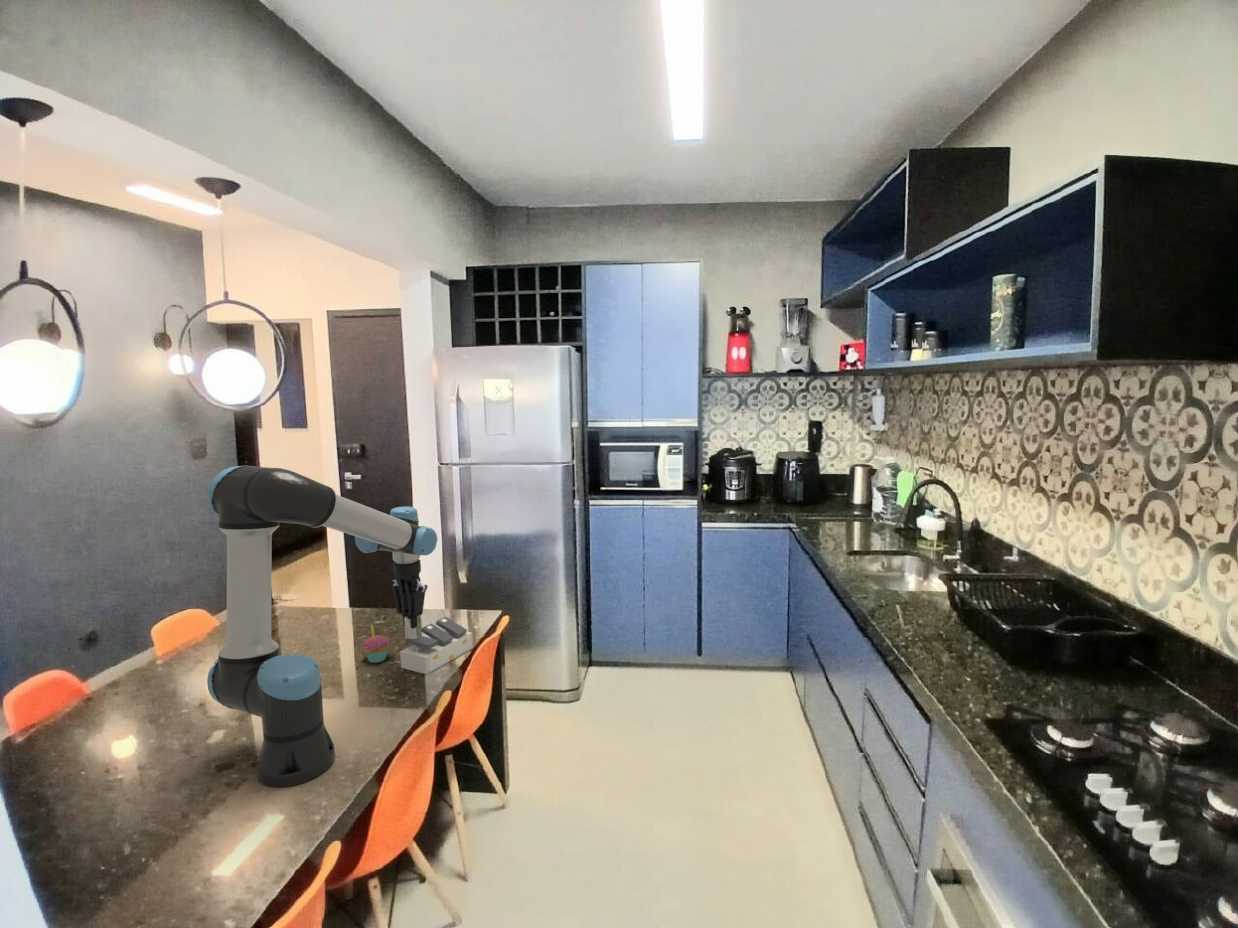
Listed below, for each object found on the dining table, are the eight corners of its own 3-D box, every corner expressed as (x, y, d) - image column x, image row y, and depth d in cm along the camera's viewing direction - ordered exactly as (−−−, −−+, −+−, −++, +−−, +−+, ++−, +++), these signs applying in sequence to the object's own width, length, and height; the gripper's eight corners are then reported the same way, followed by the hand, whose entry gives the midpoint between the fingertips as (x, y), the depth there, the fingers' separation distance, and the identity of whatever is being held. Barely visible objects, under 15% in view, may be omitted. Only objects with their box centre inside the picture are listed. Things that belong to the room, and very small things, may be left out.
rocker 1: (428, 649, 180) (428, 644, 180) (405, 643, 184) (405, 639, 184) (438, 643, 184) (438, 639, 184) (415, 638, 188) (415, 634, 188)
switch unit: (427, 674, 179) (426, 653, 179) (401, 667, 184) (399, 646, 183) (473, 648, 197) (473, 628, 196) (448, 642, 202) (447, 623, 201)
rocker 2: (443, 645, 186) (443, 641, 186) (421, 631, 190) (421, 627, 189) (452, 640, 190) (453, 636, 189) (430, 626, 193) (431, 623, 193)
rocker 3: (457, 637, 192) (458, 633, 191) (435, 624, 195) (436, 620, 195) (466, 632, 195) (467, 629, 195) (444, 619, 199) (445, 616, 198)
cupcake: (385, 665, 186) (382, 626, 184) (356, 665, 186) (354, 626, 184) (396, 653, 194) (393, 615, 193) (368, 653, 194) (366, 615, 193)
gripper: (433, 559, 183) (437, 636, 186) (399, 553, 189) (404, 628, 192) (414, 566, 177) (418, 646, 180) (380, 560, 183) (385, 638, 186)
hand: (411, 637), depth 186 cm, fingers closed
